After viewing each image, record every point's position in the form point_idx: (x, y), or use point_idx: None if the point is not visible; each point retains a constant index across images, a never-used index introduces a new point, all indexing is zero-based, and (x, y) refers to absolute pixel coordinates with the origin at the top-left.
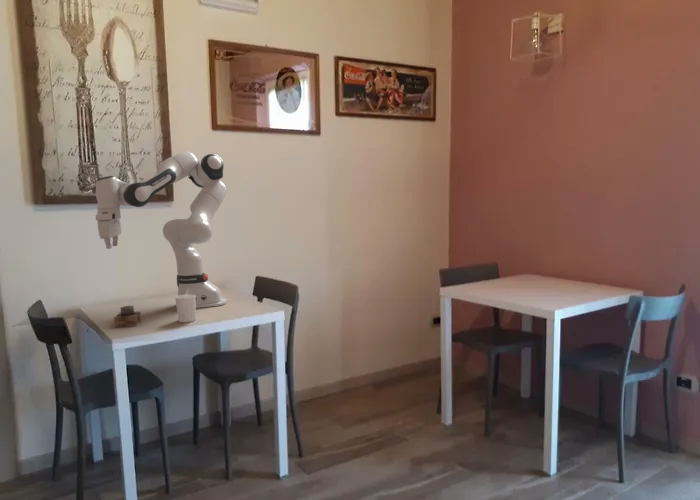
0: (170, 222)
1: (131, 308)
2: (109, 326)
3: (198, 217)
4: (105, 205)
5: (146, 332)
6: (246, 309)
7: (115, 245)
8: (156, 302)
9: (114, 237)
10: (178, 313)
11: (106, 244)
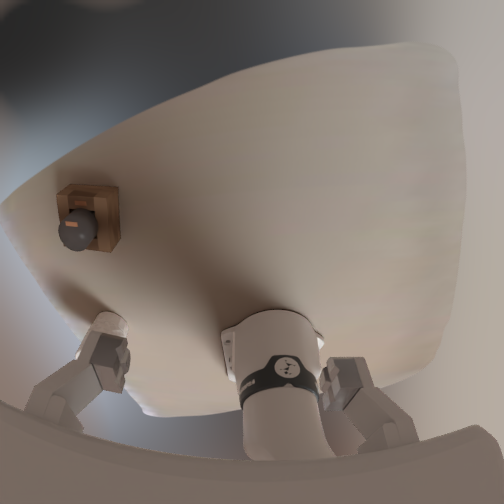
0: None
1: (69, 246)
2: (82, 166)
3: None
4: None
5: (33, 257)
6: (181, 397)
7: (323, 374)
8: (355, 261)
9: (369, 438)
10: (92, 325)
11: (73, 365)
